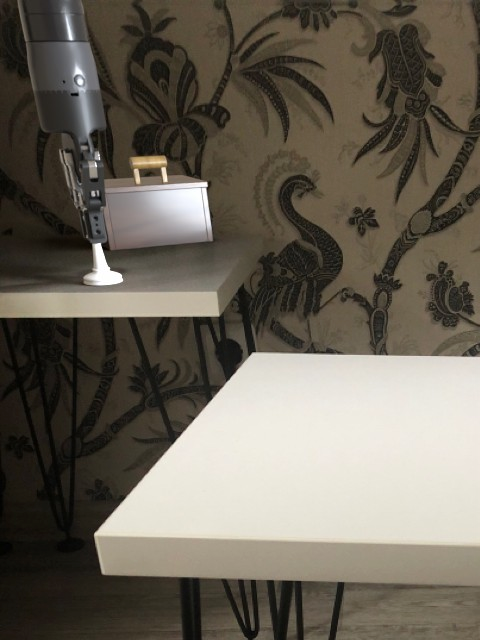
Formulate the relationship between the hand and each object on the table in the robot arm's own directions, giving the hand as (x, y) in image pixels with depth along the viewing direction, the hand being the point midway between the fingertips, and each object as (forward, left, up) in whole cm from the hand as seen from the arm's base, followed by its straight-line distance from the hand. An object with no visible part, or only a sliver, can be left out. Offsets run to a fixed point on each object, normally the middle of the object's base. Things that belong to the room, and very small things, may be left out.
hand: (95, 240), depth 117 cm
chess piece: (0, 0, -5) cm, 5 cm away
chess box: (+13, +23, -5) cm, 27 cm away
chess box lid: (+13, +23, +4) cm, 26 cm away
